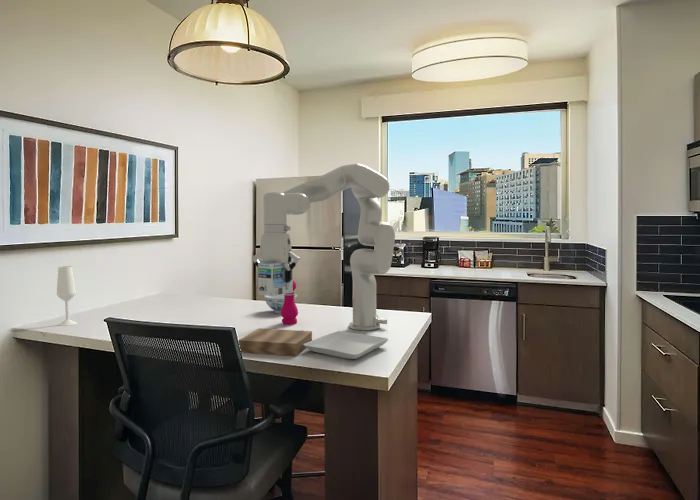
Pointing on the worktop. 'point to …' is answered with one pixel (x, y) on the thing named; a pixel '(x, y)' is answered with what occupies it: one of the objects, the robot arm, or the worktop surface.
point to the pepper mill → (289, 308)
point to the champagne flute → (66, 290)
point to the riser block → (275, 342)
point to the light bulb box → (273, 279)
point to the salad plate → (345, 344)
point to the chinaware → (276, 302)
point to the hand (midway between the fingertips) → (275, 281)
